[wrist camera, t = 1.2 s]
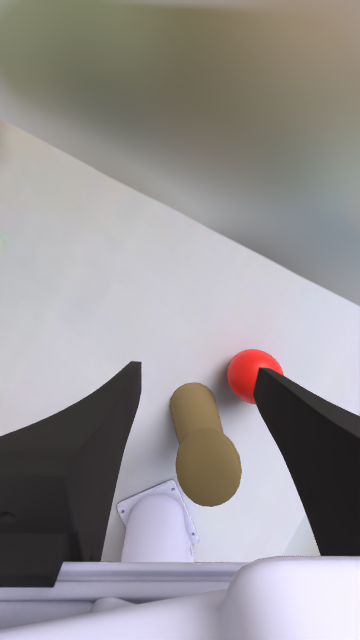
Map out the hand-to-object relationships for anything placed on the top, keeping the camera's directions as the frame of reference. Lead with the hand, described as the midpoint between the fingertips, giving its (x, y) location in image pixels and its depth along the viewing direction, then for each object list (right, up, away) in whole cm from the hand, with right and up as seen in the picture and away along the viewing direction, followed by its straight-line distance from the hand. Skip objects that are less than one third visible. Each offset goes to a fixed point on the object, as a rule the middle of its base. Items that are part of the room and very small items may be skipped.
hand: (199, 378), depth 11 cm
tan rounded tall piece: (+1, -7, +13) cm, 15 cm away
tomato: (+7, -3, +13) cm, 15 cm away
